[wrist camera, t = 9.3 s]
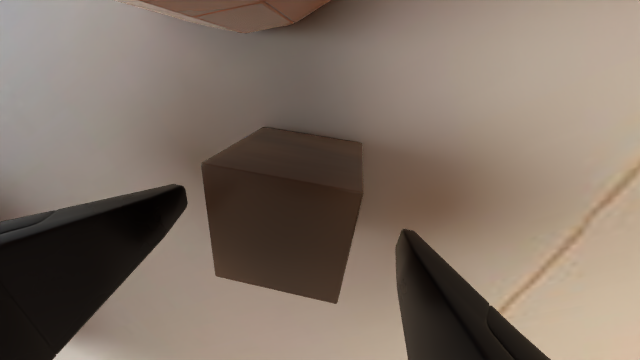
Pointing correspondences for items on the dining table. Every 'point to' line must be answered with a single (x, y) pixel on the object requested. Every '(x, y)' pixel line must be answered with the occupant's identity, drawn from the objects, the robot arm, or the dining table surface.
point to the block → (284, 210)
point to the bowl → (233, 12)
